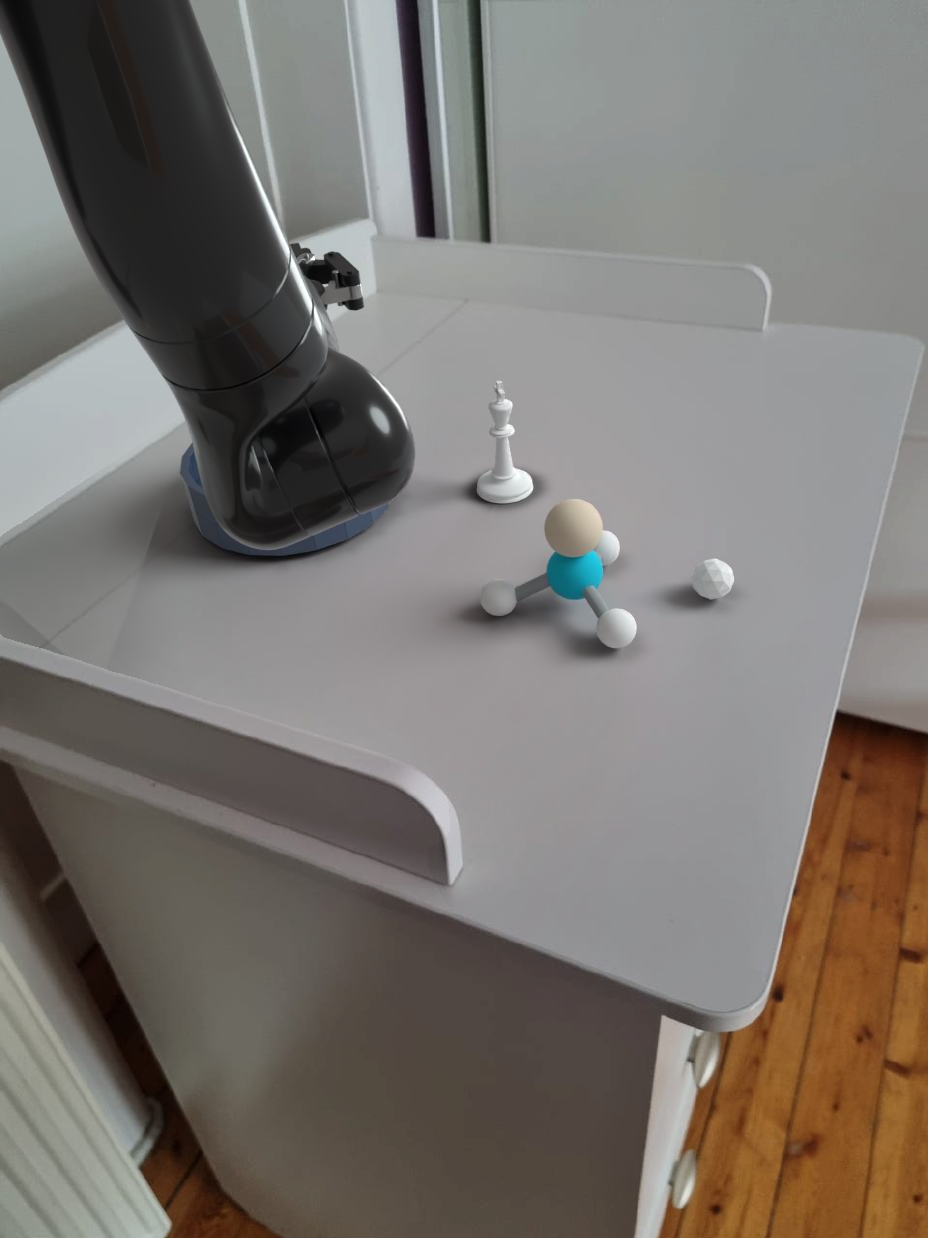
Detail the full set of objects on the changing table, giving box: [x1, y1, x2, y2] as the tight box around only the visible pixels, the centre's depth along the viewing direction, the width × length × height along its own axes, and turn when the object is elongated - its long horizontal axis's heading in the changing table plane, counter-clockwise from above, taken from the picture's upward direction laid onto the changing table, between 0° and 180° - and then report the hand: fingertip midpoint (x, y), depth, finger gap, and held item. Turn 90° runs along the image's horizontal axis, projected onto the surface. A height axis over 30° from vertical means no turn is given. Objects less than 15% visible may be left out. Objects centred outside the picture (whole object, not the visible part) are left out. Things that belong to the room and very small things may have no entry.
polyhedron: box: [691, 557, 735, 600], centre depth 68 cm, size 3×3×3 cm
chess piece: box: [476, 380, 534, 504], centre depth 79 cm, size 5×5×10 cm
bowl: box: [179, 442, 392, 557], centre depth 81 cm, size 17×17×6 cm
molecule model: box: [479, 498, 638, 649], centre depth 66 cm, size 12×12×9 cm
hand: (252, 263), depth 72 cm, fingers closed on lollipop, 6 cm apart
